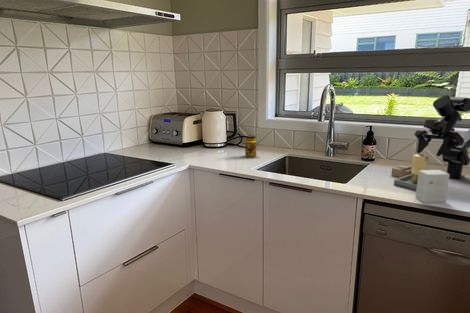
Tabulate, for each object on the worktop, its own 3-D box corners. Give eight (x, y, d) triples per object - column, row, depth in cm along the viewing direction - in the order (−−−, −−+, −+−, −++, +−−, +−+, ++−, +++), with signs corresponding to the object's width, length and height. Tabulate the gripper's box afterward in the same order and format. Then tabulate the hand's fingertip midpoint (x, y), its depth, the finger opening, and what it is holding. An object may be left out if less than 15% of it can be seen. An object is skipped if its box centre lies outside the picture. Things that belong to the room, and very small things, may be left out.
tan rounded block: (401, 172, 154) (402, 162, 153) (416, 176, 149) (417, 165, 148) (390, 175, 149) (391, 165, 148) (405, 179, 144) (406, 169, 143)
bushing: (411, 181, 139) (414, 153, 136) (425, 183, 136) (428, 154, 134) (409, 184, 135) (412, 155, 132) (423, 187, 132) (427, 157, 129)
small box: (436, 197, 123) (440, 169, 121) (446, 202, 118) (450, 173, 115) (414, 197, 123) (418, 169, 121) (423, 203, 118) (427, 174, 115)
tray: (409, 179, 144) (410, 174, 144) (440, 186, 134) (441, 181, 134) (393, 184, 137) (394, 179, 137) (424, 192, 127) (425, 187, 127)
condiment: (248, 159, 181) (248, 137, 178) (240, 156, 188) (240, 135, 186) (259, 157, 185) (260, 136, 182) (251, 154, 192) (251, 133, 189)
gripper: (416, 111, 143) (397, 141, 142) (457, 111, 126) (436, 144, 124) (431, 126, 147) (412, 156, 146) (473, 128, 129) (452, 161, 128)
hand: (427, 154), depth 136 cm, fingers open, 9 cm apart
